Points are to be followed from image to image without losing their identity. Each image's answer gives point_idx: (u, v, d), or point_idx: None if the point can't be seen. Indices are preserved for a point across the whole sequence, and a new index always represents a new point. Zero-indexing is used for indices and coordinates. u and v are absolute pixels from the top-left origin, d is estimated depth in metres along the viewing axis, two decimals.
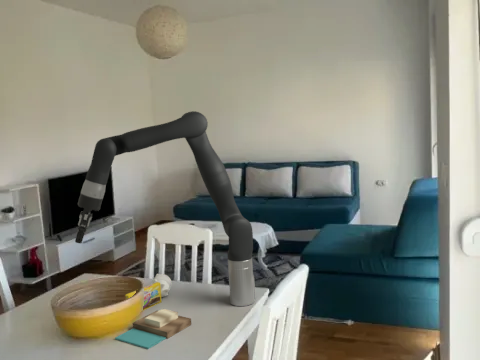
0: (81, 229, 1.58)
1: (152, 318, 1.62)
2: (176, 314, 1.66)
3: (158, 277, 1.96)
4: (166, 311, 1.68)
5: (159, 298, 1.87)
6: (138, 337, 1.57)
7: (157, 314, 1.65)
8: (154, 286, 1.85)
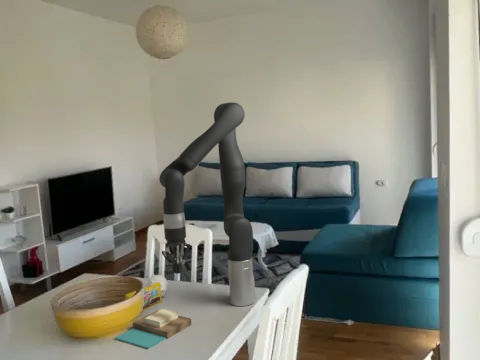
0: (170, 261, 1.68)
1: (152, 318, 1.62)
2: (176, 314, 1.66)
3: (154, 278, 1.96)
4: (166, 311, 1.68)
5: (159, 298, 1.87)
6: (138, 337, 1.57)
7: (157, 314, 1.65)
8: (154, 286, 1.85)
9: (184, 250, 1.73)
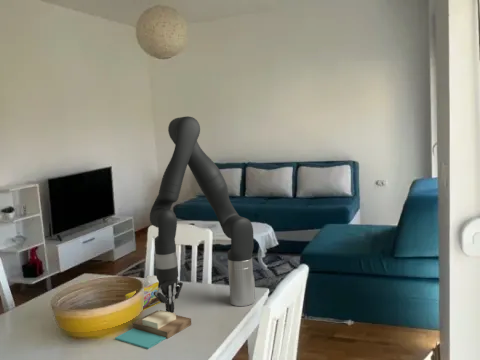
0: (162, 301, 1.66)
1: (150, 319, 1.61)
2: (174, 315, 1.65)
3: (150, 278, 1.95)
4: (164, 312, 1.67)
5: None
6: (138, 337, 1.57)
7: (155, 315, 1.64)
8: (154, 286, 1.85)
9: (177, 289, 1.71)
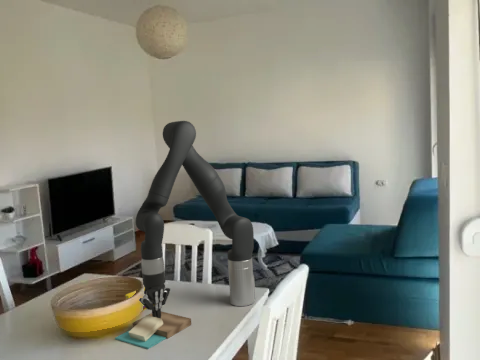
0: (148, 308, 1.60)
1: (136, 331, 1.56)
2: (160, 321, 1.59)
3: None
4: (150, 319, 1.61)
5: None
6: None
7: (141, 324, 1.59)
8: None
9: (164, 295, 1.65)
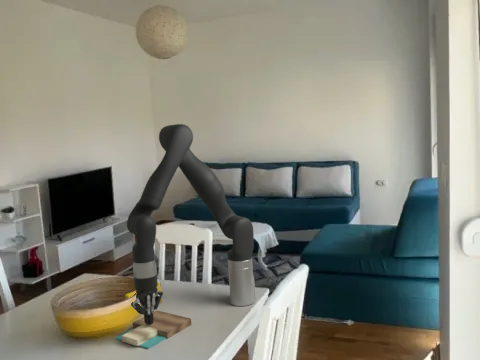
0: (140, 312, 1.57)
1: (130, 336, 1.54)
2: (155, 331, 1.57)
3: None
4: (145, 328, 1.59)
5: None
6: None
7: (135, 331, 1.57)
8: None
9: (156, 299, 1.62)
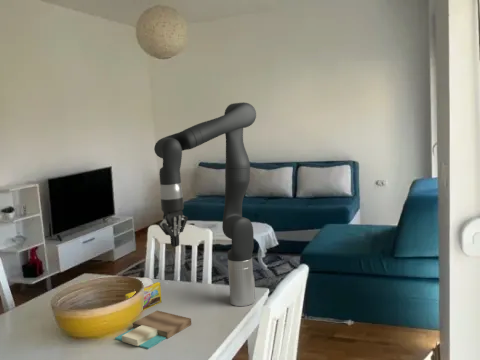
0: (167, 233, 1.63)
1: (130, 336, 1.54)
2: (155, 331, 1.57)
3: (141, 280, 1.93)
4: (145, 328, 1.59)
5: (159, 298, 1.87)
6: None
7: (135, 331, 1.57)
8: (154, 286, 1.85)
9: (182, 223, 1.68)
